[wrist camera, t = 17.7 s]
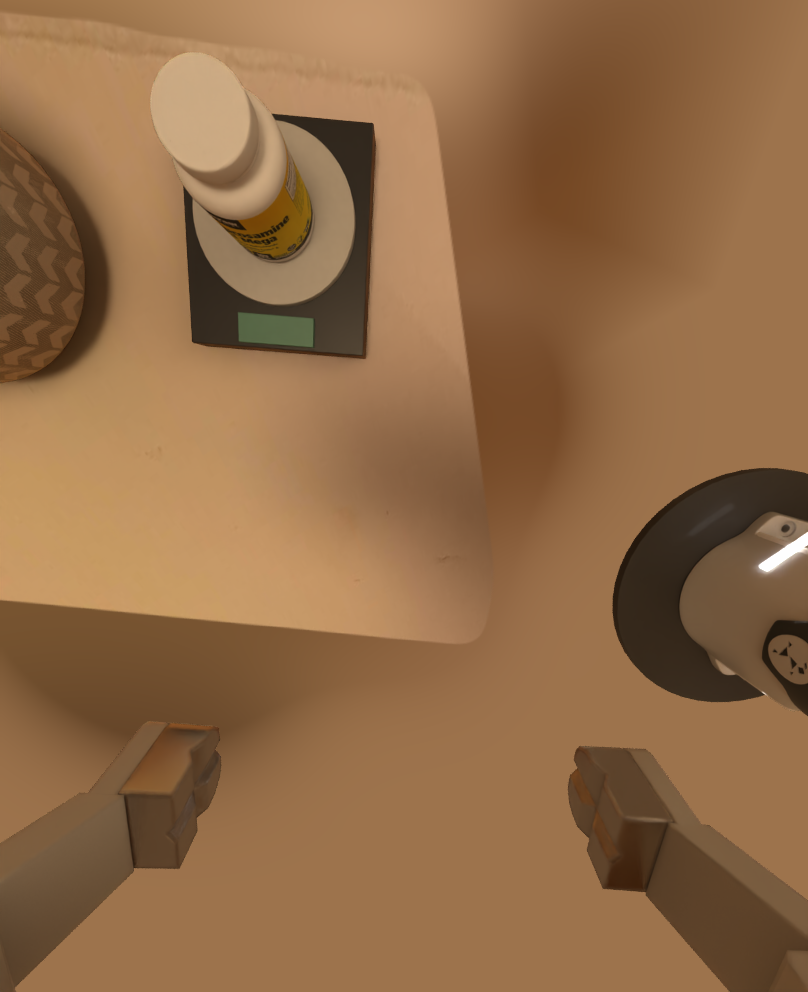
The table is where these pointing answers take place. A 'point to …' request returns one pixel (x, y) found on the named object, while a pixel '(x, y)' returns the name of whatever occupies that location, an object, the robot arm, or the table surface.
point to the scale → (309, 275)
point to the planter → (35, 266)
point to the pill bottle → (231, 156)
